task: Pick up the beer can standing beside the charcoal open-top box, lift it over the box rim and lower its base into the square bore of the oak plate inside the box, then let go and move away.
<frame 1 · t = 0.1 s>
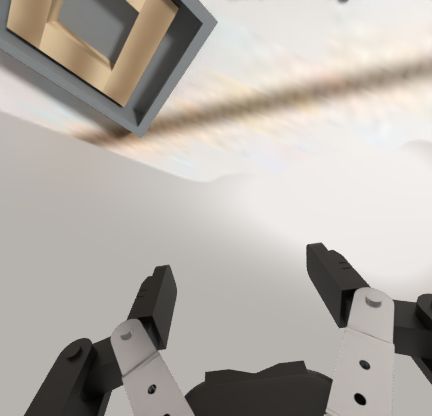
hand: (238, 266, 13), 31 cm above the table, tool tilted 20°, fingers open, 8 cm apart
open-top box: (102, 15, 28), on the table
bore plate: (100, 15, 27), resting on open-top box
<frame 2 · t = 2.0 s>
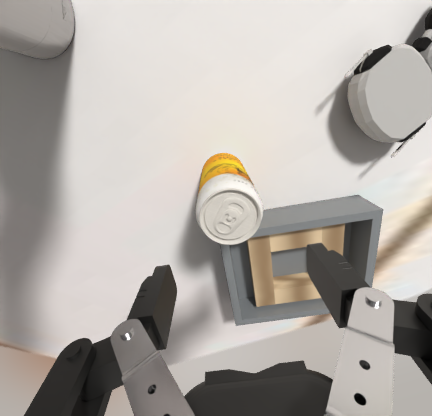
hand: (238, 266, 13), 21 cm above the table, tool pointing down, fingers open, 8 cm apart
robot toy: (397, 80, 28), on the table
beer can: (222, 172, 33), on the table
open-top box: (288, 253, 38), on the table
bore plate: (290, 256, 37), resting on open-top box
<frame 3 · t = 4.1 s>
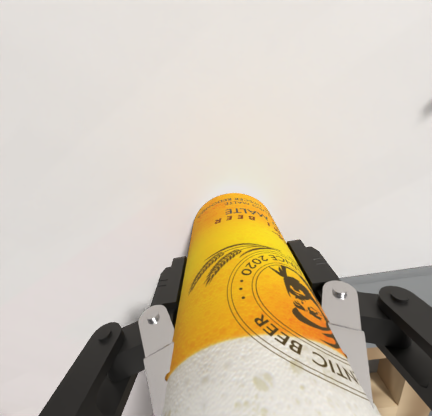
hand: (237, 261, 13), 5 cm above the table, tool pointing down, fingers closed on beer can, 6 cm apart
beer can: (231, 224, 18), on the table, touching gripper
open-top box: (337, 344, 23), on the table
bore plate: (342, 353, 23), resting on open-top box
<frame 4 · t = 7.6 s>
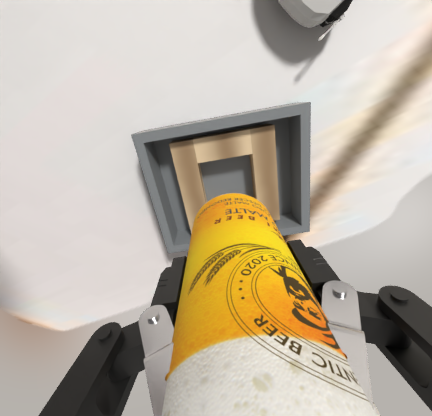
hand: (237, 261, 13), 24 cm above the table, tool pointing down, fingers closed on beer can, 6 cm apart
beer can: (231, 224, 18), point 19 cm above the table, touching gripper
open-top box: (226, 176, 36), on the table
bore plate: (227, 178, 35), resting on open-top box
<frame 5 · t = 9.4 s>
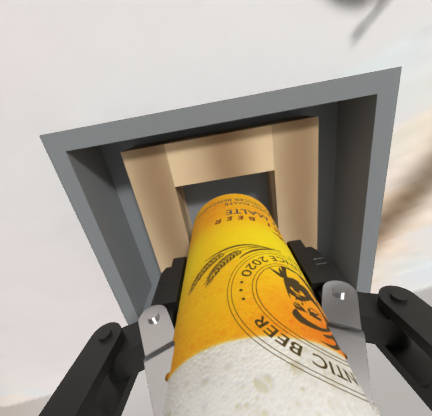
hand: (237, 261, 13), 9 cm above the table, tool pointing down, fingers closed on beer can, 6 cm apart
beer can: (231, 224, 18), point 4 cm above the table, touching gripper
open-top box: (228, 204, 22), on the table
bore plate: (228, 208, 21), resting on open-top box
when the fingers open (7 cm above the table, at t = 10.8 s): beer can drops 1 cm, resting on open-top box.
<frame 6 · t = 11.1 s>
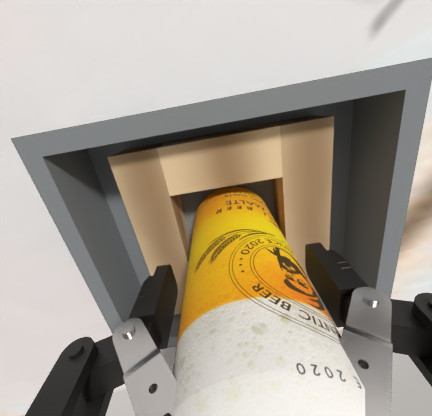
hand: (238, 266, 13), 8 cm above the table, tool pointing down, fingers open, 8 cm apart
beer can: (230, 216, 19), point 1 cm above the table, touching open-top box
open-top box: (229, 212, 20), on the table
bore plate: (230, 217, 19), resting on open-top box
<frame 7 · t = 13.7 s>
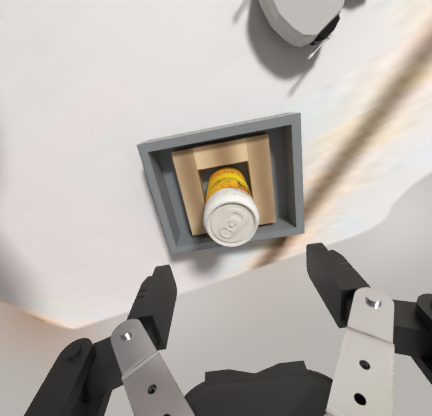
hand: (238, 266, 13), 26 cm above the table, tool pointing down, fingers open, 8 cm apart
beer can: (226, 183, 37), point 1 cm above the table, touching open-top box
open-top box: (225, 182, 38), on the table
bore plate: (226, 183, 37), resting on open-top box
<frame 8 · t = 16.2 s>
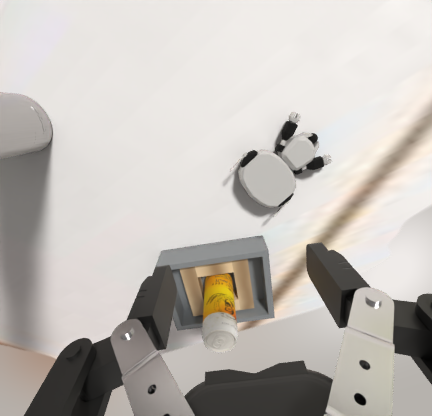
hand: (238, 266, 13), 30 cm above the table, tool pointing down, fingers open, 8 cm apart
robot toy: (277, 163, 41), on the table
beer can: (218, 278, 50), point 1 cm above the table, touching open-top box
open-top box: (218, 276, 51), on the table
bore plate: (218, 279, 50), resting on open-top box
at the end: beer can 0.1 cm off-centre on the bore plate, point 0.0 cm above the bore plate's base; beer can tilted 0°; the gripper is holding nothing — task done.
